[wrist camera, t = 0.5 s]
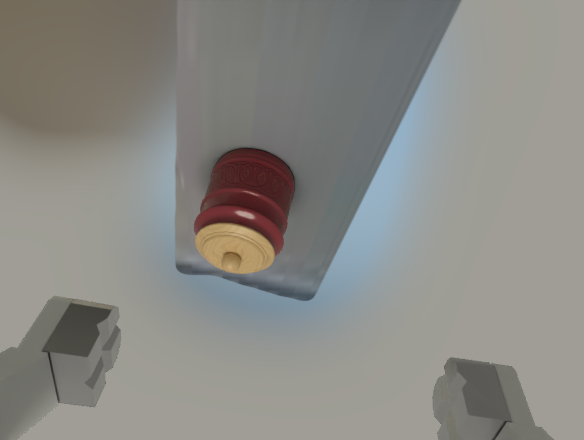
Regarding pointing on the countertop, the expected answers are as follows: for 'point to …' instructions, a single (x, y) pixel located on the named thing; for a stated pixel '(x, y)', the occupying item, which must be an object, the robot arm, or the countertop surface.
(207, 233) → the canister
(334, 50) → the countertop surface
